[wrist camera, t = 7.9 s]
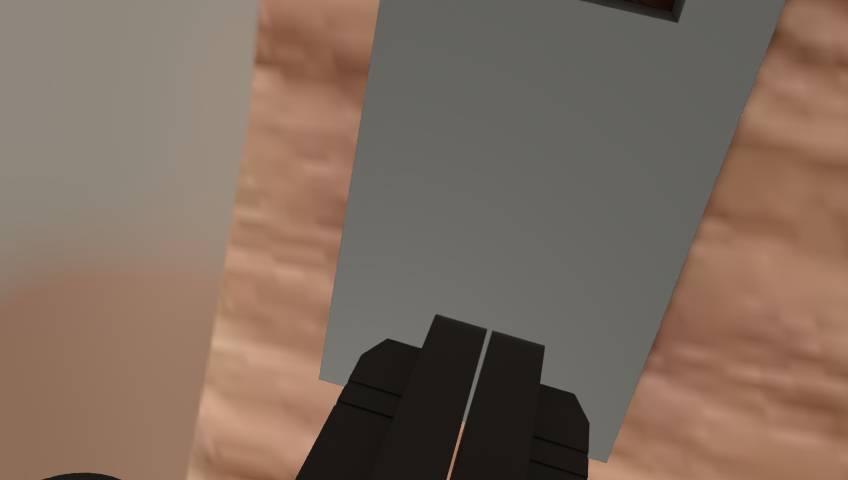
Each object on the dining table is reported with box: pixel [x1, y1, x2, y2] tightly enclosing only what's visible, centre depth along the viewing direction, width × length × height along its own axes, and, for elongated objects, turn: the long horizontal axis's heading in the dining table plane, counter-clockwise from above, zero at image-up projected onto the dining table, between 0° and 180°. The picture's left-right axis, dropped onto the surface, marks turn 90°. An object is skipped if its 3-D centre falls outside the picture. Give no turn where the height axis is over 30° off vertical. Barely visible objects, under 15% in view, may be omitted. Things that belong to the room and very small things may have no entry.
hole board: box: [319, 0, 786, 463], centre depth 27 cm, size 12×26×2 cm, turn 169°
